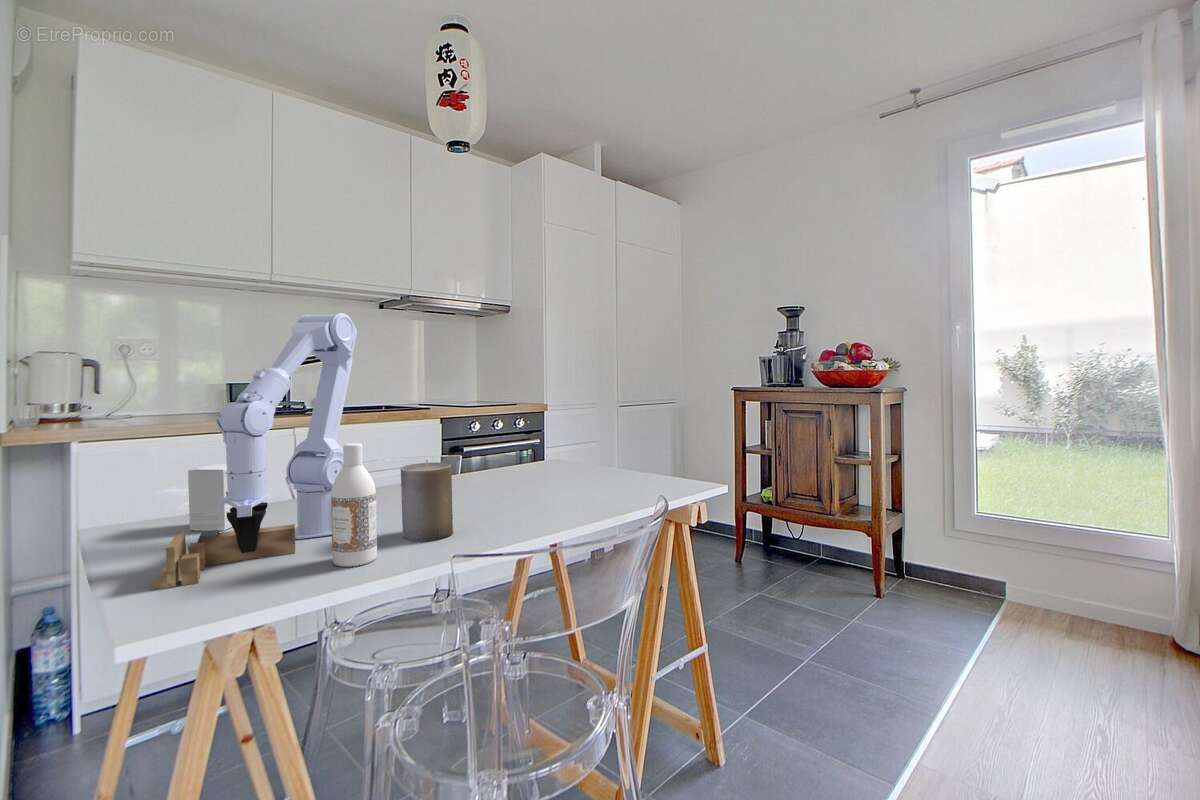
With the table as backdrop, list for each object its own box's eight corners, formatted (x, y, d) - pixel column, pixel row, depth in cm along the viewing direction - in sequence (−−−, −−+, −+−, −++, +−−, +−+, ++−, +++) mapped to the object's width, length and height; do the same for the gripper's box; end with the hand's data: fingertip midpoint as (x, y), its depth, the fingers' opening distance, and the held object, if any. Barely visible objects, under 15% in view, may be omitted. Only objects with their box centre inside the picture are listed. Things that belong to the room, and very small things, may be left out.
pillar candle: (458, 527, 115) (456, 455, 115) (446, 541, 106) (444, 463, 105) (410, 528, 115) (408, 456, 114) (394, 542, 105) (392, 464, 105)
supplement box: (224, 531, 113) (222, 469, 112) (188, 531, 113) (186, 469, 112) (248, 521, 120) (246, 463, 119) (214, 521, 120) (212, 463, 119)
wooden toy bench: (206, 564, 93) (205, 529, 92) (197, 583, 85) (196, 544, 84) (164, 570, 90) (163, 534, 90) (151, 590, 82) (149, 549, 82)
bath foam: (323, 565, 93) (320, 445, 92) (353, 552, 99) (350, 441, 98) (357, 569, 90) (354, 447, 90) (385, 556, 97) (383, 442, 96)
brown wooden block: (295, 548, 101) (294, 521, 101) (295, 553, 99) (294, 525, 99) (201, 560, 95) (200, 531, 95) (198, 566, 92) (197, 536, 92)
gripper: (223, 467, 101) (226, 541, 101) (213, 480, 88) (216, 565, 88) (269, 463, 104) (271, 535, 105) (265, 476, 91) (267, 558, 92)
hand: (249, 548), depth 97 cm, fingers closed on brown wooden block, 3 cm apart
